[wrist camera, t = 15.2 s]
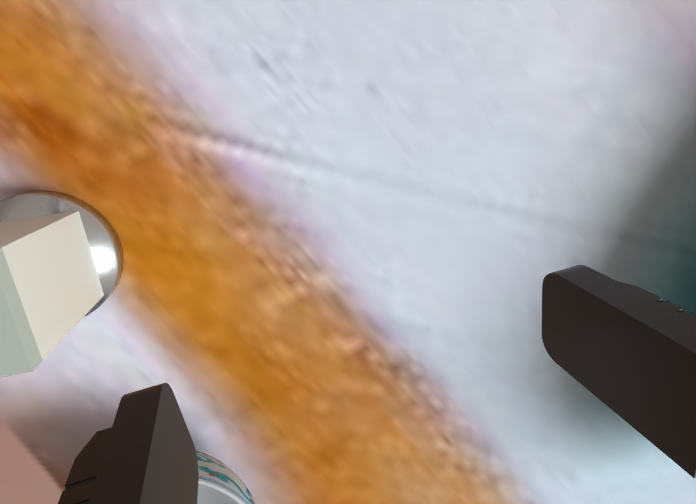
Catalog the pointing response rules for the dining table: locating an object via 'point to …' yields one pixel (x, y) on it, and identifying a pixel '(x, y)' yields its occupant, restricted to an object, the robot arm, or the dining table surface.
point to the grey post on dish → (95, 226)
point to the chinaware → (219, 483)
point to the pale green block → (42, 287)
